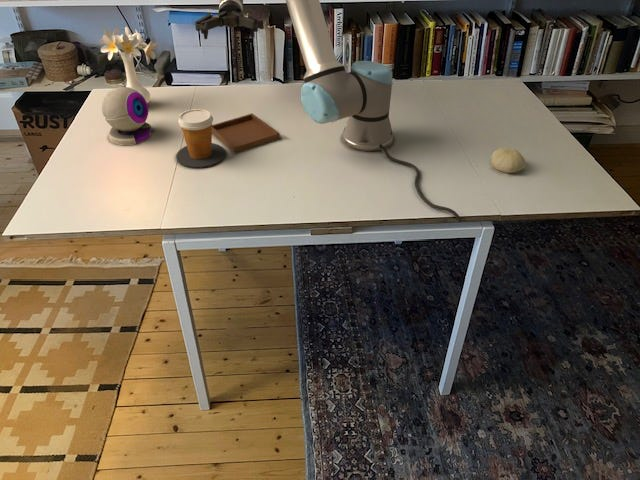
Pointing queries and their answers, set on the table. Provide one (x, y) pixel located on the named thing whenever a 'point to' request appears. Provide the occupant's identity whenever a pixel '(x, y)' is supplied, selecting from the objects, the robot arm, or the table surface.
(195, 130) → the disposable coffee cup
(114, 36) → the flower vase
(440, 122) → the table surface
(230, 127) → the tray
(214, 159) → the coaster
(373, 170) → the table surface
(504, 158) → the sea urchin shell
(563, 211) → the table surface
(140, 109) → the webcam
